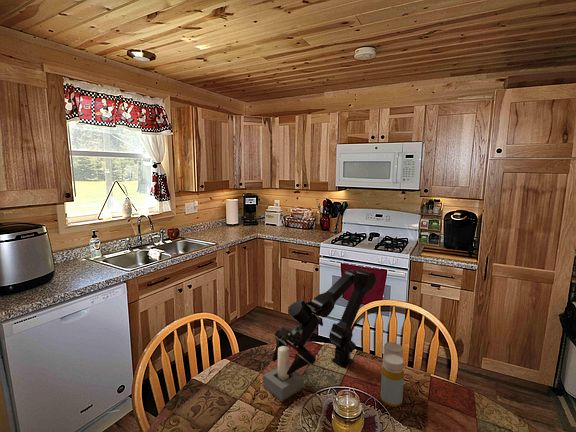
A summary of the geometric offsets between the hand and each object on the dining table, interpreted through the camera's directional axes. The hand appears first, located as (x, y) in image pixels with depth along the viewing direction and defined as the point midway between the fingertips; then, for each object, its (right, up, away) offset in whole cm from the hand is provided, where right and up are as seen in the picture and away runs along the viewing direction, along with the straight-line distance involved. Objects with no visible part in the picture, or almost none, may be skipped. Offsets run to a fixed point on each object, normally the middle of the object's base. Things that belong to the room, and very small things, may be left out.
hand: (280, 367), depth 111 cm
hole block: (+1, -8, +2) cm, 8 cm away
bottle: (+38, -10, -4) cm, 39 cm away
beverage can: (+40, -9, +4) cm, 41 cm away
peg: (+1, -7, +2) cm, 8 cm away
